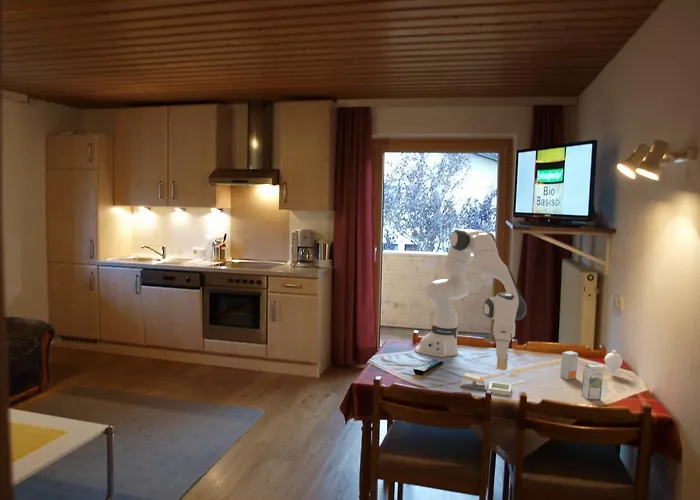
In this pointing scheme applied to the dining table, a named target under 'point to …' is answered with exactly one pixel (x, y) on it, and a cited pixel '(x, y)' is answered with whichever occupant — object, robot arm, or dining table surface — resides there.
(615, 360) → the spinning top
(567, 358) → the skincare box
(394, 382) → the dining table surface
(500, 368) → the lockout cap
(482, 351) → the dining table surface
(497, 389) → the socket
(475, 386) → the switch base
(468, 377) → the rocker
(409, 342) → the dining table surface
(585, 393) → the syrup box
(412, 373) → the dining table surface
